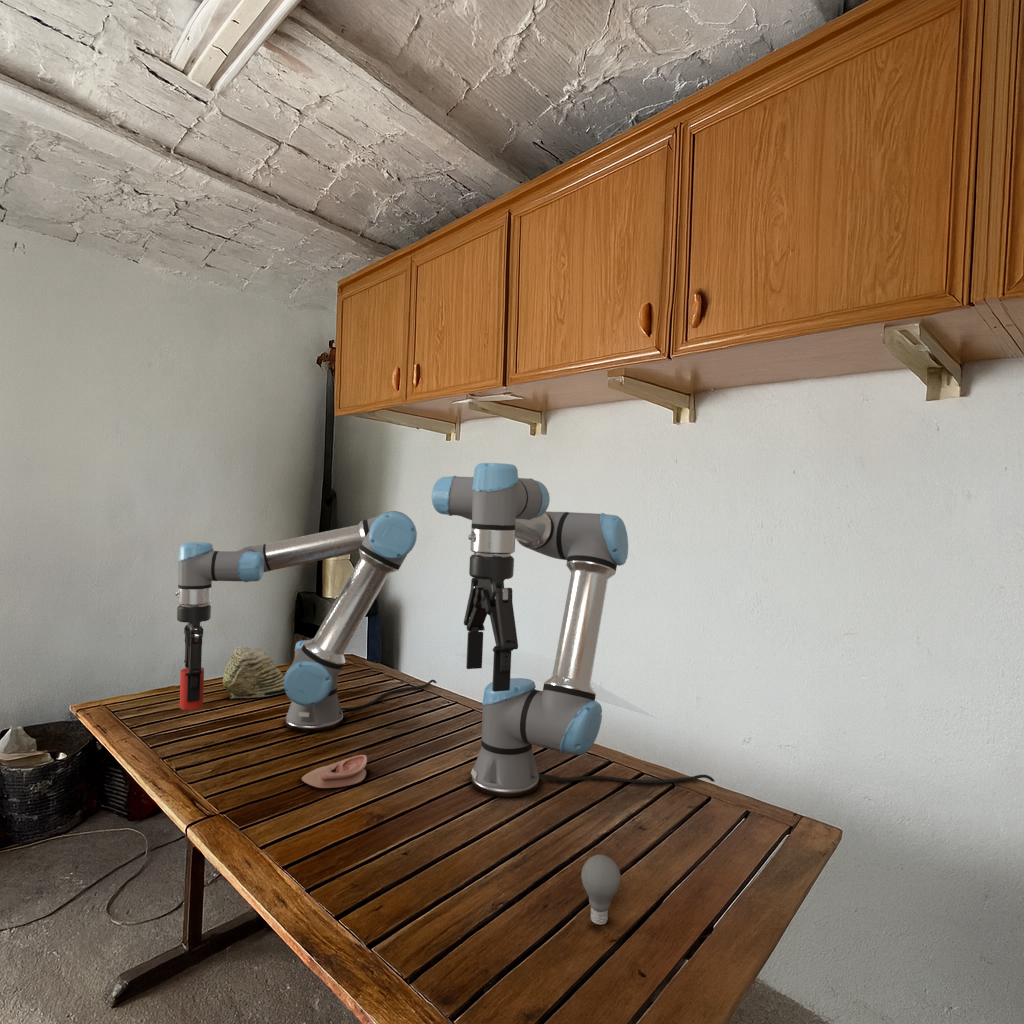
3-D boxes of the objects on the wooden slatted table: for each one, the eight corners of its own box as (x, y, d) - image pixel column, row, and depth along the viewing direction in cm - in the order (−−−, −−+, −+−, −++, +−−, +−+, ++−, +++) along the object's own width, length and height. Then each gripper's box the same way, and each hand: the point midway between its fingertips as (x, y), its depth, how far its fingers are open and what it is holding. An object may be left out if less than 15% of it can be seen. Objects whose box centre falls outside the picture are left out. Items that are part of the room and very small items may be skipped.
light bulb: (576, 909, 100) (578, 846, 100) (613, 909, 101) (616, 846, 100) (583, 935, 94) (586, 869, 94) (622, 935, 95) (626, 868, 94)
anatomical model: (294, 766, 138) (320, 747, 150) (294, 784, 138) (320, 763, 150) (351, 774, 136) (373, 754, 147) (350, 792, 136) (372, 770, 147)
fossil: (218, 695, 195) (220, 647, 195) (278, 685, 208) (279, 640, 207) (228, 703, 189) (230, 653, 188) (289, 692, 201) (290, 645, 201)
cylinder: (175, 707, 157) (176, 670, 157) (195, 701, 162) (196, 665, 161) (187, 711, 154) (188, 673, 154) (207, 705, 159) (208, 669, 159)
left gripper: (174, 599, 163) (171, 689, 164) (180, 611, 148) (178, 710, 148) (206, 598, 167) (203, 685, 168) (216, 609, 152) (213, 705, 152)
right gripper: (450, 547, 118) (445, 661, 118) (497, 562, 94) (491, 703, 95) (488, 548, 120) (483, 659, 121) (542, 562, 97) (536, 699, 98)
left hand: (191, 697), depth 158 cm, fingers closed on cylinder, 5 cm apart
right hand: (486, 678), depth 108 cm, fingers open, 13 cm apart
